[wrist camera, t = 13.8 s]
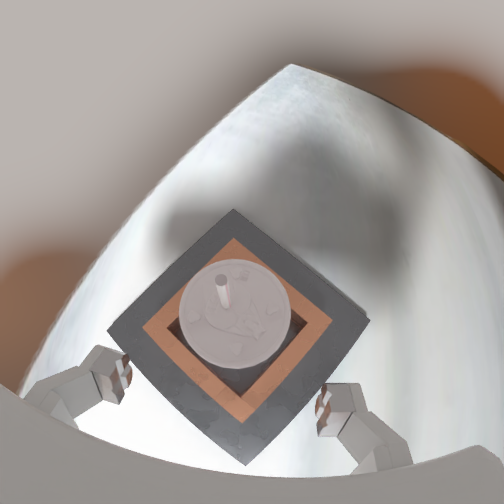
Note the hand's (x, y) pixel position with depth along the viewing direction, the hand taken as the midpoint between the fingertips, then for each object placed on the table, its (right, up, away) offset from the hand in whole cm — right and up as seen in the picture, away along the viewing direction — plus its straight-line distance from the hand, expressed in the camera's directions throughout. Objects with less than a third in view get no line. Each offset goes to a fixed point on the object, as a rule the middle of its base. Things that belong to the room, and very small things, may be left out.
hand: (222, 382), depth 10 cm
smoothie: (0, -2, +14) cm, 14 cm away
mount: (0, -2, +15) cm, 15 cm away
